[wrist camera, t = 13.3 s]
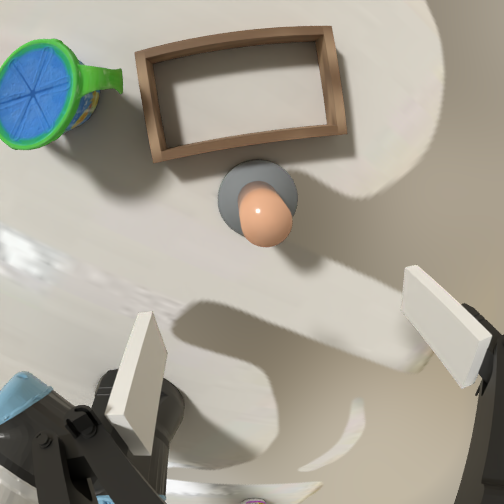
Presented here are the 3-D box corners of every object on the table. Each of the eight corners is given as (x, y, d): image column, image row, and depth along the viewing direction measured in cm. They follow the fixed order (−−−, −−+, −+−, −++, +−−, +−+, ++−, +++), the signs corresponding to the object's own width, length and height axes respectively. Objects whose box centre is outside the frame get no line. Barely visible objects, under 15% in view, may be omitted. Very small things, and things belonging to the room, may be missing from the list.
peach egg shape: (280, 217, 37) (294, 242, 30) (240, 223, 37) (244, 250, 30) (275, 178, 35) (289, 194, 28) (234, 184, 35) (237, 202, 28)
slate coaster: (300, 229, 38) (301, 231, 38) (225, 241, 38) (225, 243, 38) (291, 154, 35) (292, 155, 34) (211, 166, 35) (211, 167, 34)
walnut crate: (336, 132, 34) (347, 134, 31) (159, 159, 34) (153, 163, 31) (321, 33, 29) (331, 26, 26) (142, 58, 29) (134, 52, 26)
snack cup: (140, 48, 29) (110, 25, 19) (132, 138, 33) (100, 146, 23) (26, 64, 27) (-23, 57, 18) (21, 144, 31) (-28, 157, 22)
